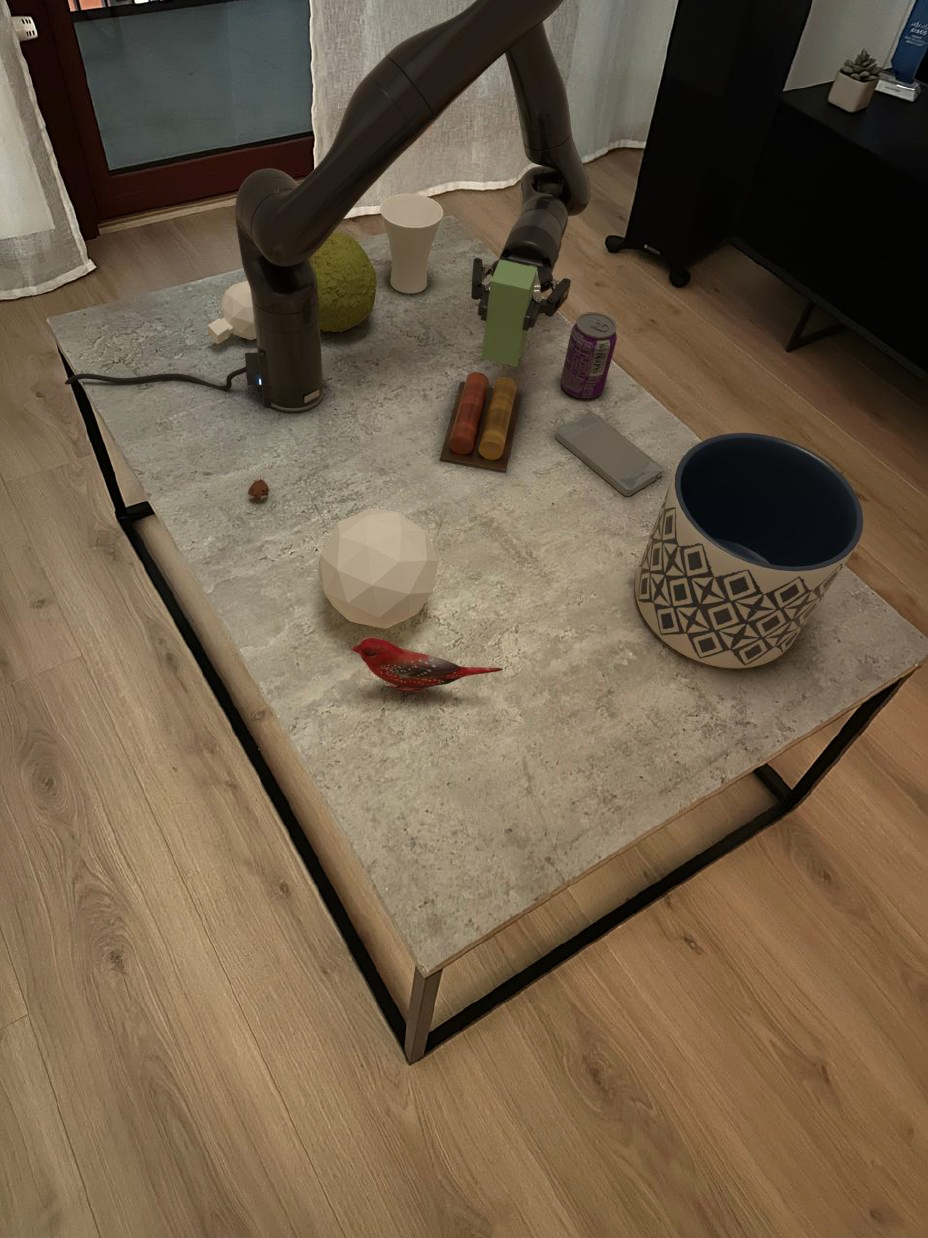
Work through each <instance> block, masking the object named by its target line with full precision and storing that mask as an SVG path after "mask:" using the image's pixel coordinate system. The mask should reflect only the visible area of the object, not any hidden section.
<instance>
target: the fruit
mask: <svg viewBox="0 0 928 1238" xmlns="http://www.w3.org/2000/svg"><path fill="white" fill-rule="evenodd" d="M309 259H310V262H311V264H312V267H313V269H314V271H315V274H316V277H317V282H318V299H319V318H320V331H323V332H333V333H338V332H339V333H342V332H345V331H349V330H350V329H353V327H357V326H358V325H360V324H361V323H362V322H363V321H365V319H367V317H368V316H369V315H370V314H371V312H373V309H374V306H375V302H376V295H377V294H376V293H377V285H378V280H377V272H376V268H375V267H374V266H373V264H372V262H371V259H370V258H369V256H368V254H366V252H365V250H364V248H363V247H362V246H361V244H360V243H359V241H358V240H356V239H355V237H353V236H351V235H349V234H345V233H343V232H335V231H333V233H332V234H331V235H330V236H329V238H328V239H327V240H326V241H325V243H324V244H323V245H322V246H321V247H320V248H319V249H318V250H317V252H316V253H315V254H313V255H312V256H311V257H310V258H309Z"/></svg>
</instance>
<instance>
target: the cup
mask: <svg viewBox="0 0 928 1238" xmlns="http://www.w3.org/2000/svg"><path fill="white" fill-rule="evenodd" d="M379 212H380V215H381V219H382V221H383V226H384V228H385V232H386V235H387V238H388V242H389V243H388V244H389V249H390V257H391V274H390V285H391V287H392V288H393V289H394V290H396V291H397V292H400V293H403V294H418V293H420V292H422V291H424V290H425V289H426V288H427V286H428V271H427V270H428V261H429V257H430V253H431V248H432V245H433V242H434V240H435V237H436V234H437V232H438V230H439V227H440V224H441V223H442V220H443V217H444V210H443V207H442V205H440V203H439V202H437V200H434V199H433V198H431V197H428V196H426V195H421V194H418V193H399V194H394V195H391V196H389V197H387V198H386V199H384V200H383V201H382V203H381V204H380V206H379Z"/></svg>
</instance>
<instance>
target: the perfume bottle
mask: <svg viewBox="0 0 928 1238" xmlns="http://www.w3.org/2000/svg"><path fill="white" fill-rule="evenodd" d="M207 334H208V336H209V337H210V338H211V339H212V340H213V341H214V342H215V343H216V344H217V345H219V344H221V343H222V342H224V341H225V340H227V339H229V338H230V335H231V334H233V335H234V336H236V337H240V338H244V339H246V340H250V341H253V340H256V332H255V323H254V315H253V306H252V297H251V291H250V286H249V283H248V280H247V279H246V280H243V281H241V282H238V283H235V284H232V285H230V286H229V287H228V289H227V290H225V292H224V293H223V296H222V298H221V318H220V317H219V318H217V319H215V320H214V321H212V322H211V323H209V324H207Z"/></svg>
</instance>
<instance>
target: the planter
mask: <svg viewBox="0 0 928 1238" xmlns="http://www.w3.org/2000/svg"><path fill="white" fill-rule="evenodd" d="M864 521H865V520H864V513H863V508H862V504H861V502H860V500H859V497H858V495H857V493H856V492H855V490H854V487H852V486H851V484H850V482H848V479H846V477H845V476H844V475H843V474H842V473H841V472H840V471H839V470H838V469H837V468H836V467H835V466H833V465H832V464H831V463H829V462H828V461H827V460H826V459H825V458H823V457H822V456H819V454H817V453H816V452H814V451H812V450H810V449H808V448H806V447H804V446H802V445H800V444H798V443H795V442H791V441H790V440H787V439H784V438H780V437H776V436H773V435H767V434H762V433H755V432H753V433H752V432H731V433H724V434H719V435H716V436H712V437H709V438H707V439H705V440H703V441H701V442H698V443H697V444H695V445H694V446H692V448H690V449H689V450H688V451H686V453H684V455H683V456H681V458H680V461H679V462H678V464H677V465H676V468H675V471H674V474H673V475H672V478H671V481H670V483H669V486H668V488H667V491H666V493H665V496H664V499H663V501H662V504H661V507H660V510H659V512H658V515H657V517H656V520H655V522H654V525H653V528H652V530H651V533H650V536H649V539H648V541H647V544H646V546H645V549H644V552H643V554H642V557H641V560H640V563H639V565H638V569H637V572H636V575H635V582H634V593H635V599H636V603H637V605H638V609H639V611H640V613H641V615H642V617H643V619H644V620H645V622H646V623H647V625H648V626H649V627H650V629H651V630H652V631H653V632H654V633H655V635H657V637H659V638H660V640H662V641H663V642H664V643H665V644H666V645H668V646H669V647H670V648H672V649H673V650H675V651H676V652H678V653H679V654H681V655H683V656H685V657H687V658H689V659H692V660H694V661H696V662H699V663H702V664H705V665H709V666H711V667H718V668H722V669H723V668H724V669H747V668H753V667H757V666H763V665H765V664H767V663H770V662H771V661H774V660H776V659H777V658H779V657H781V656H782V655H784V653H785V652H786V651H787V650H788V649H789V648H790V647H792V645H793V643H794V642H795V640H796V639H797V637H798V636H799V634H800V633H801V631H802V630H803V628H804V627H805V625H806V624H807V622H808V621H809V620H810V618H811V616H812V615H813V613H814V612H815V610H816V609H817V608H818V606H819V605H820V603H821V601H822V600H823V598H824V597H825V595H826V594H827V592H828V591H829V589H830V588H831V586H832V584H833V583H834V582H835V580H836V579H837V577H838V576H839V574H840V572H841V571H842V569H843V568H844V566H845V565H846V563H847V562H848V560H849V559H850V557H851V555H852V554H853V552H854V551H855V549H856V548H857V546H858V545H859V543H860V541H861V537H862V535H863V532H864Z"/></svg>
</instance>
